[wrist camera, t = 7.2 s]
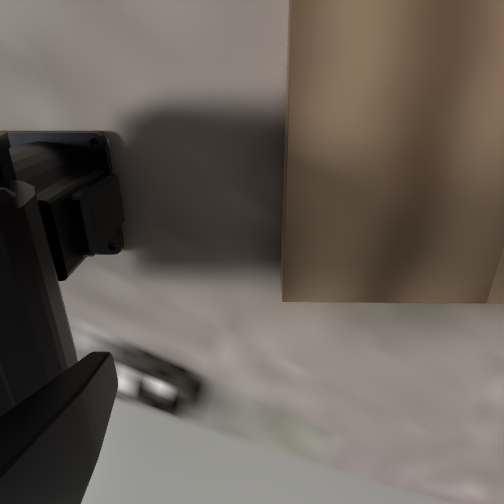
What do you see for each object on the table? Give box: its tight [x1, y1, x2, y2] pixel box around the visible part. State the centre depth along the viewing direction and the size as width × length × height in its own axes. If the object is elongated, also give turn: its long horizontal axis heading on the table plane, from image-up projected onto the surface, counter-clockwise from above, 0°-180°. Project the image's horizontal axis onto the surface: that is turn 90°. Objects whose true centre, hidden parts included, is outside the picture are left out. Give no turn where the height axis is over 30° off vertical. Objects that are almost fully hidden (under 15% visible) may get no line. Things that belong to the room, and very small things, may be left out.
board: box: [281, 0, 504, 304], centre depth 18 cm, size 18×16×2 cm
